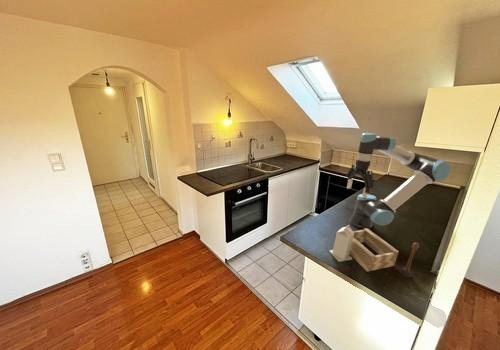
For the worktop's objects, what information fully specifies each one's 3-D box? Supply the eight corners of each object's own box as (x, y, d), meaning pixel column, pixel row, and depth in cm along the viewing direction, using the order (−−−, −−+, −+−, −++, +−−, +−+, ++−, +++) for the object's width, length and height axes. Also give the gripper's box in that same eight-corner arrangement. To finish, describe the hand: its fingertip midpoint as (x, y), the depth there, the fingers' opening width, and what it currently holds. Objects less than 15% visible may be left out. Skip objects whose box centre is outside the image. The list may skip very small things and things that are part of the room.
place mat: (342, 248, 126) (342, 248, 126) (352, 259, 118) (352, 258, 118) (329, 251, 124) (329, 250, 124) (338, 261, 116) (338, 261, 116)
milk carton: (332, 254, 121) (337, 226, 115) (337, 248, 126) (343, 221, 119) (344, 260, 116) (350, 232, 110) (349, 254, 121) (355, 227, 114)
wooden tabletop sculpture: (402, 268, 113) (413, 238, 106) (412, 274, 109) (424, 243, 102) (398, 273, 109) (409, 242, 102) (408, 279, 106) (420, 247, 99)
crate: (364, 241, 134) (367, 228, 131) (393, 265, 114) (398, 251, 111) (340, 244, 130) (343, 231, 127) (367, 271, 110) (371, 256, 107)
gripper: (344, 154, 132) (338, 185, 139) (375, 166, 110) (366, 202, 117) (354, 154, 134) (347, 184, 141) (386, 165, 111) (377, 200, 119)
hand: (356, 192), depth 129 cm, fingers open, 13 cm apart
